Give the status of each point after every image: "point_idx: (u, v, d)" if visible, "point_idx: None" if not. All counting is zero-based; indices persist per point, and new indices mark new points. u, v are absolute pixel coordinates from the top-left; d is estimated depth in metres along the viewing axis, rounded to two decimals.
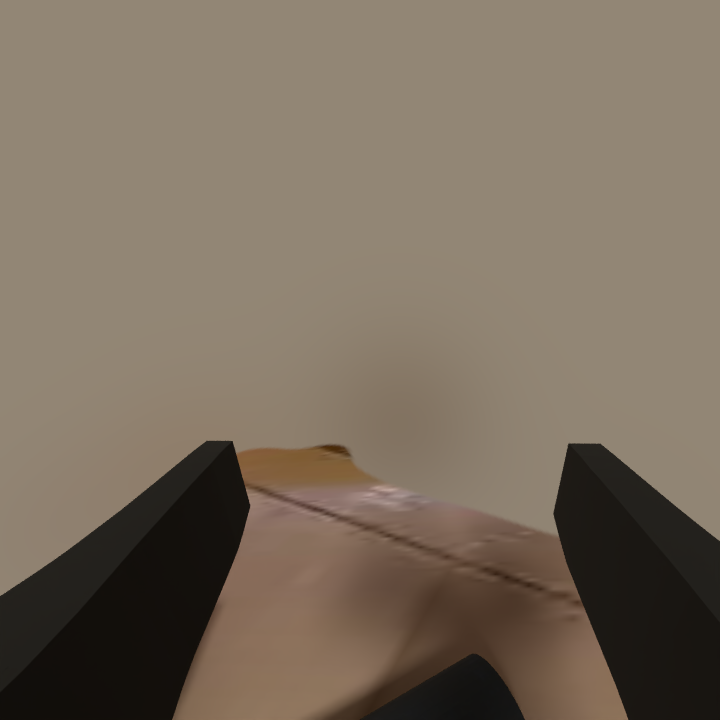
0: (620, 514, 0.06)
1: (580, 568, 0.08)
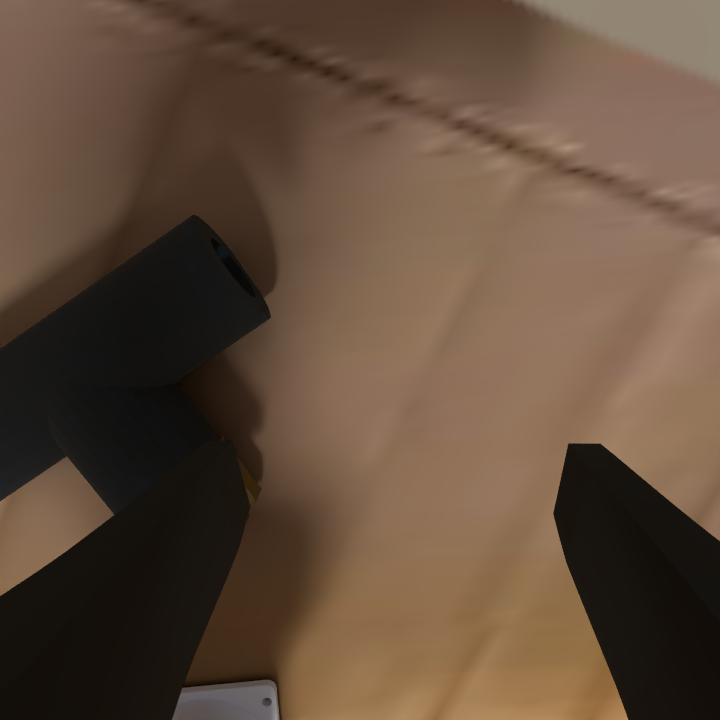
0: (619, 515, 0.06)
1: (580, 568, 0.08)
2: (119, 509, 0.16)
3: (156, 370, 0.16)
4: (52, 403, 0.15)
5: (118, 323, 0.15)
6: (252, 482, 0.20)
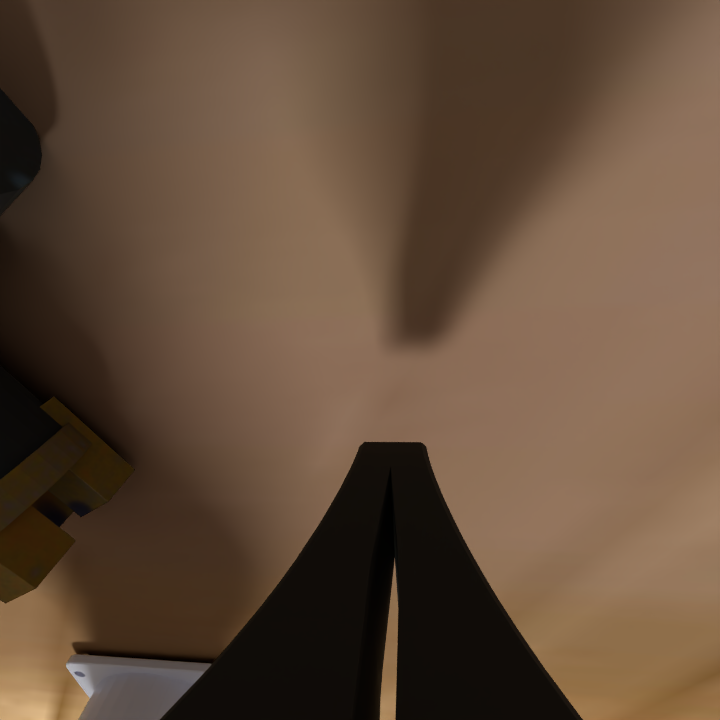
0: (393, 509, 0.07)
1: (395, 561, 0.08)
2: None
3: None
4: None
5: None
6: (113, 465, 0.13)
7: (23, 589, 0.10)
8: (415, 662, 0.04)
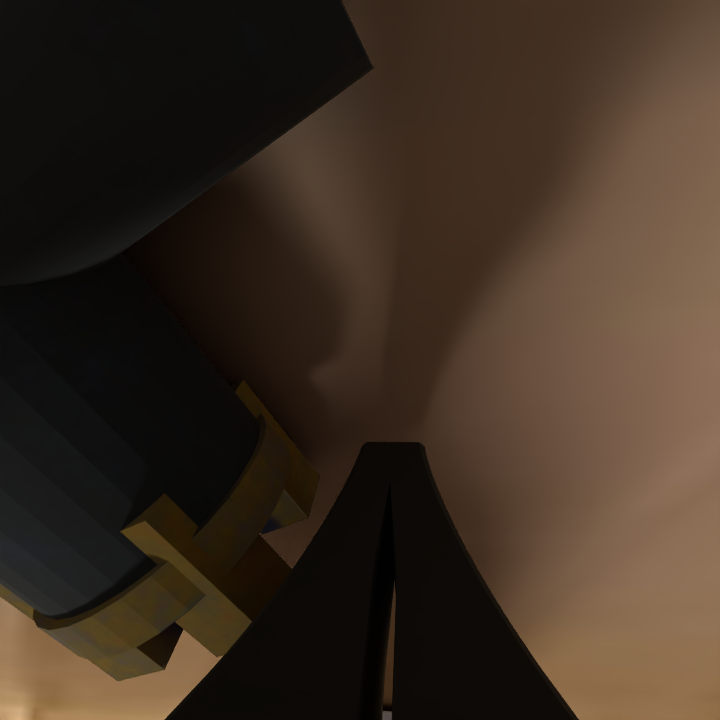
0: None
1: (393, 560, 0.08)
2: None
3: None
4: None
5: None
6: (303, 470, 0.10)
7: None
8: (412, 662, 0.04)
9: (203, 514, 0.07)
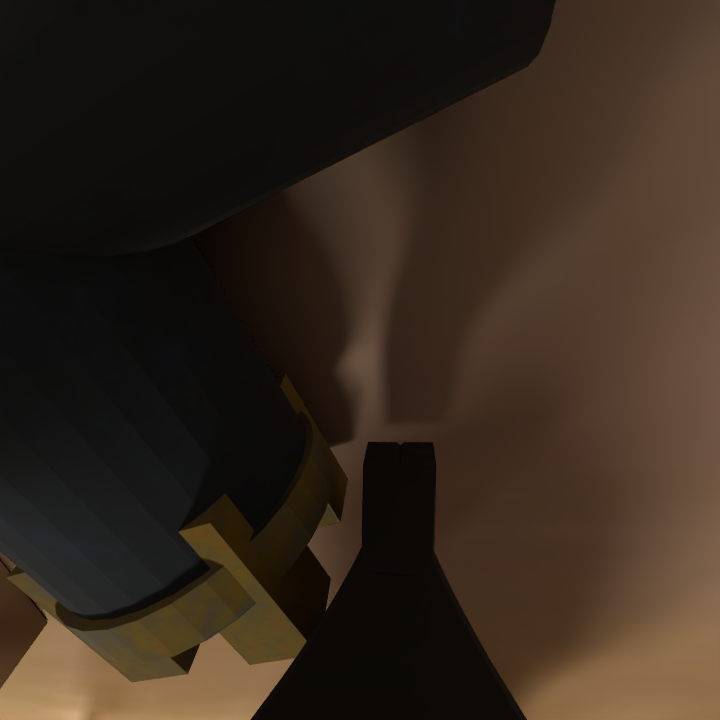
0: (363, 508, 0.07)
1: None
2: None
3: (88, 201, 0.04)
4: None
5: None
6: (335, 472, 0.10)
7: (295, 653, 0.07)
8: (366, 658, 0.04)
9: (260, 517, 0.06)
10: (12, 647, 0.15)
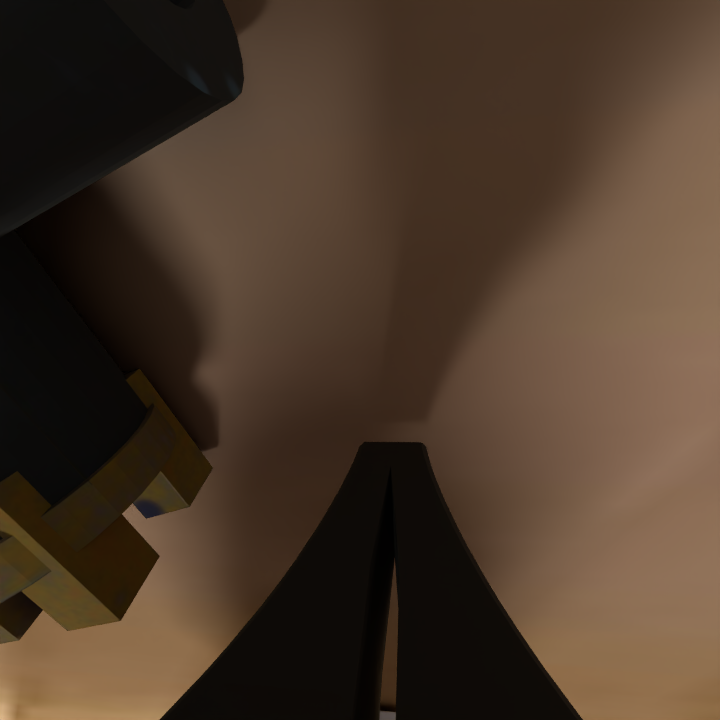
0: (394, 508, 0.07)
1: (395, 561, 0.08)
2: None
3: None
4: None
5: None
6: (193, 461, 0.11)
7: (101, 619, 0.08)
8: (415, 662, 0.04)
9: (58, 494, 0.07)
10: None
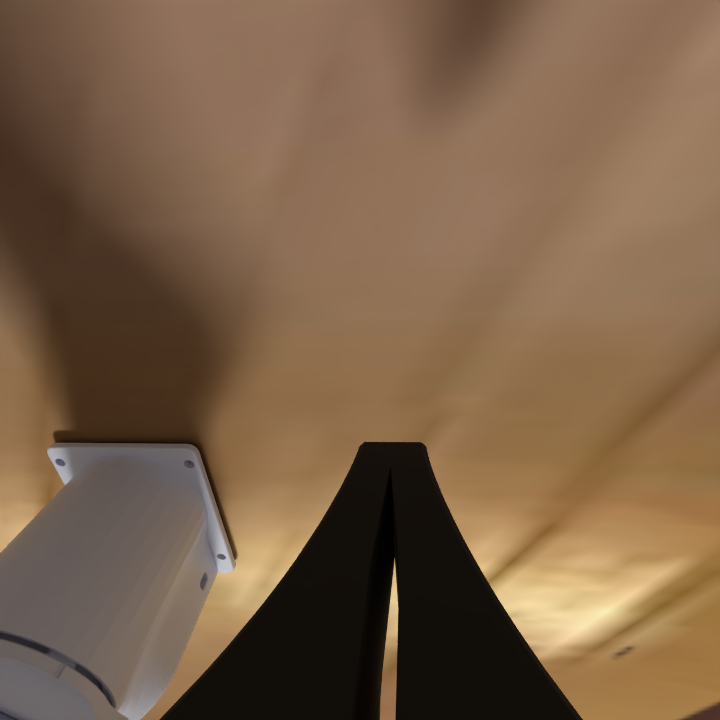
0: (393, 509, 0.07)
1: (395, 561, 0.08)
2: None
3: None
4: None
5: None
6: None
7: None
8: (415, 662, 0.04)
9: None
10: None
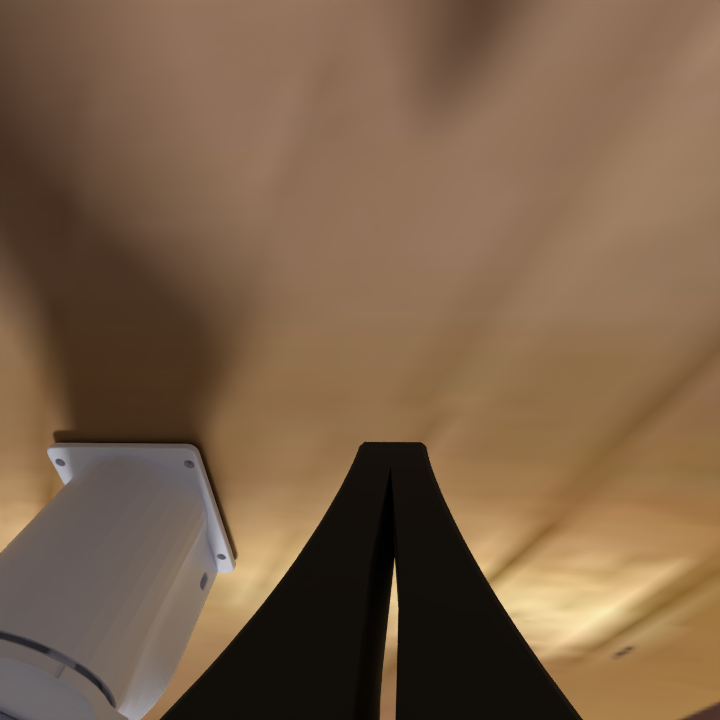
0: (393, 509, 0.07)
1: (395, 561, 0.08)
2: None
3: None
4: None
5: None
6: None
7: None
8: (415, 662, 0.04)
9: None
10: None
